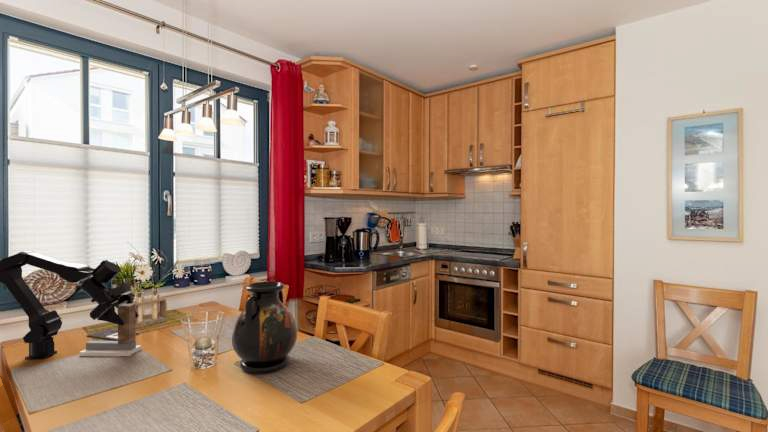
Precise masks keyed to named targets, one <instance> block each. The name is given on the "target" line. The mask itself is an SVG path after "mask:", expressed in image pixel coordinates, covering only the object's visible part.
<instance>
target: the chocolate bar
mask: <svg viewBox="0 0 768 432" xmlns="http://www.w3.org/2000/svg"><path fill="white" fill-rule="evenodd" d="M138 335H139V332H136V336H138ZM87 337H88V338H93V339H100V340H104V341H118V329H111V328H106V329H104V330H100V331H96V332H94V333H93V332H92V333H90V334H87V335H86V338H87Z"/></svg>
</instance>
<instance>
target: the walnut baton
mask: <svg viewBox="0 0 768 432" xmlns="http://www.w3.org/2000/svg"><path fill="white" fill-rule="evenodd" d="M135 310H136V303H135V302H133V304H122V305H120V306H118V308H117V314H118V316H119V317H120V318H121V319H122V320H123V321H124V323H125V324H124V325H118V324H117V330H118V344H130V343H132V342H133V341H137V340H136V339H137V338H136V336H137V335H136V333H137V332H136V331H137V330H136V318H135Z"/></svg>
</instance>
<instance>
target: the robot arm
mask: <svg viewBox="0 0 768 432" xmlns="http://www.w3.org/2000/svg"><path fill="white" fill-rule="evenodd" d="M26 265H28V266H31V267H35V268H39V269H40V270H41V269H42V270H45V271H47V272H50V273H54V274H56V275H58V277H60V278H61V279H62V280H65V281H66V282H68V283H71V284H72V283H73V284H75V283H79V282H81V283H79V284H76V285H75V291H74V293H76V294H77V293H81V292H84V293H85V294H87V295H88V296H89V297H90V298H91V300H90V301H91V302H92V303H97V305H96V307H94V308H93V309H91V310H92V311H90V312H89V317H90V318H91V319H92V320H93V321H95V320H97V321H103V322H108V323H112V324H116V325H117V326H118V325H124V324H125V323H124V321H123V320H122V319H121V318H120V317H119V316H118V312H116V308H117V309H118V306H120V305H122V304H134V300H135V297H136V296H135V294H134V293H133V292H131V291H132V283H130V282H128V281H126V280H125V281H122V282H121V283H119V285H117V286H116V287H113V286H110V287H108V286H107V285H106V284H108V283H110V282H111V281H112V280H113V279H114V278H115V277H116V276H117V275H118V274H119V273H120V272H121V271H122V268H121V267H120V266H119V265H118V264H116V263H114V262H111V261H109V260H108V259H105V260H104V259H103V260H102V261H101V262H100V263H99V265H98V266H96V267H95V268H94V267H91V266H89V265H87V264H82V263H77V262H76V263H73V262H65V261H63V260H58V259H56V258H53V257H49V256H47V255H44V254H40V253H38V252H35V251H33V250H26V251H19V252H17V253H15V254H14V255H10V256H7V257H4V258H1V259H0V283H1V284H2V285H4V286H5V287H6V289H7V290H8V292H9V293H10V294H11V295H12V297H13V298H14V299H15V301H16V302H17V303H18V305H19V306H20V308H21V309H22V310H23V312H24V313H25V314H26V316H27V317H28V328H29V330H30V331H28V332H27V333H26V334H24V336H23V337H22V340H23V342H24V344H28V355H27V356H25V357H24V359H26V360H31V359H32V360H33V359H35V360H42V359H44V358H48V357H49V356H52V355H54V354H56V353H58V350H55V341H54V336H57V335H58V334H59V330H61V328H62V325H63V321H62V319H63V318H62V316H60V315H59V314H58V312H57V310H55V309H53V310H48V309H46V308H45V307H44V306H43V304H42V303H41V301H40V300H39V299H38V297H37V296H36V295H35V293H34V292H33V291H32V289H31V288H30V286H29V285H28V284H27V282H26V281H25V280H24V278H23V269H22V267H24V266H26ZM82 281H83V282H82ZM138 317H139V314H138V312H137V310H136V309H135V319H138Z"/></svg>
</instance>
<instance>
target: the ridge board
mask: <svg viewBox="0 0 768 432" xmlns="http://www.w3.org/2000/svg"><path fill="white" fill-rule="evenodd" d="M141 350H142V344H141V345H137V340H135V341H133V342H132V343H130V344H118V341H112V340H89V341H87V342H85V349H82V350H81V351H79V357H120V356H129V357H130V356H132V355H134V354H135V352H136V353H137V352H139V351H141ZM133 353H134V354H133ZM131 354H132V355H131Z"/></svg>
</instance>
